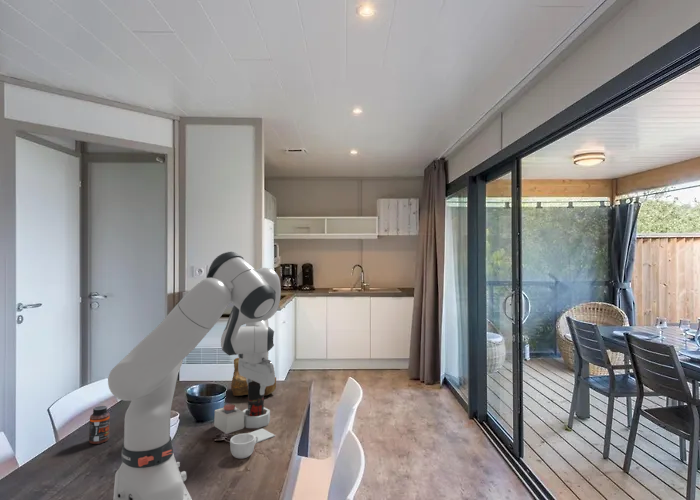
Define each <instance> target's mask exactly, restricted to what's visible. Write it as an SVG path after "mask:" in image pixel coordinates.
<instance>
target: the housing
mask: <svg viewBox="0 0 700 500" xmlns="http://www.w3.org/2000/svg"><path fill="white" fill-rule="evenodd" d="M224 411H225V410H224V407H221V408H218V409H214V422H213V423H214V427H215V428H217V430H220V431H221V432H223V433H224V434H225V435H226V434H227V435H228V434H230V433H234V432H236V431H239V430H240V431H241V430H243V429H245V428H246V429H261V428H263V427H266V426H268V425H269V424H270V421H271V409H268V408H267V407H265V406H264V415H261V416H248V408H245V409H243V410H241V409H239V408H238V407H236V406H235V409H234V412H233V413H229V414H226V413H224Z"/></svg>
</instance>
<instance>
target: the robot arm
mask: <svg viewBox="0 0 700 500" xmlns="http://www.w3.org/2000/svg"><path fill="white" fill-rule="evenodd" d="M206 274H207V275H206V277H205V278H203V279H202V280H201V281H200V282H198V283H196V285H194V286H193V287H192V288H191V289H190V290H189V291H188V292H186V293H185V295H184V296H183V297H182V298H181V299H180V301H179V302H178V303H177V304H176V305H175V306H174V307H173V308H172V309H171V311H169V313H168V314H167V315H166V316H165V317H164V318H163V320H162V321H161V322H160V323H159V324H158V325H157V326H156V327H155V328H154V329H153V330H152V331H151V332H150V333H149V334H148V335H146V336H145V337H144V338H143V339H142V340H141V341H140V342H138V344H137V345H136V346H134V348H133V349H132V350H130V352H128V354H126V355H125V357H124V358H123V359H121V360H120V361H119V362H118V363H117V364H115V366H114V367H113V368H112V369H111V370H110V371H109V374H108V377H107V385H108V388H109V391H110V393H111V394H112V395H113V397H115V398H117V399H118V400H121V401H126V402H129V401H130V403H129V406H128V408H127V410H126V411H125V414H124V428H123V429H124V431H123V433H124V434H123V438H124V439H123V444H122V447H121V452H120V454H121V461H122V462H121V464H120V466H119V468H118V469H117V470H116V472H115V475H114V487H113V499H112V500H193V499H192V496H191V494H190V493H189V491H188V489H187V487H186V485H185V481H186V480H187V477H188V476H187V471H185V470H183V471H180V465H181V464H180V463H181V462H180V461H176V458H175V454H174V449H173V448H174V445H173V441H172V437H171V417H172V416H171V414H172V413H171V412H172V404H173V399H174V395H175V392H176V385H177V382H178V381H177V379H178V375H179V371H180V370H181V368H182V365H183V363H184V361H183V360H184V359H185V358H186V357H187V356H188V355H189V354H190V353H192V352H193V350H194V349H196V347H197V346H198V345H199V343H200V342H201V341H202V340H203V339H204V338H205V337H206V335H208V333H209V332H210V331H211V330H212V328H213V327H215V325H216V324H217V323H218V321H219V320H220V318H221V317H222V315H223V314H224V313H225V311H226V310H227V308H228V307H229V305H230V304H232V305H233V307H231V310H230V314H229V317H228V320H227V323H226V324H225V327H224V330H223V332H222V334H221V339H220V347H221V349H222V352H224V353H225V354H226V355H227V356H237V358H239V362H238V370H239V374H240V375H241V376H243V377H245V378H246V381H247V384H248V383H249V382H252V380H253V381H255V382H257V383H260V386H261V387H260V390H258V392H259V393H258V394H260V395H264V393H265V388H266V386H271V385H274V383H275V377H276V373H275V367H274V366H273V365H274V364H273V362H272V360H270V359H269V352H270V350H272V349H273V347H274V346H275V344H274V335H275V331H274V330H273V329H272V328H271V327H270V326H269V319H271V318H272V317H273V316H274V315H276V313H277V311H278V309H279V306H280V302H281V294H282V293H281V292H282V291H281V290H282V288H281V280H280V279H281V278H280V277H279V275H278V273H277V272H276V271H275V270H273V269H271V268H269V267H261V268H257V269H255V267H254V266H252V264H250V263H249V262H247V261H246V260H245V259H244V257H243V256H242V255H240V254H238V253H236V252H234V251H227V252H223V253H221V254H219V255H218V256H216V258H214V260H212V263H211V264H210V266H209V268H208V272H207V273H206ZM264 396H265V395H264Z"/></svg>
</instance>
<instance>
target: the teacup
mask: <svg viewBox="0 0 700 500" xmlns="http://www.w3.org/2000/svg"><path fill="white" fill-rule="evenodd" d="M248 433H249V432H248ZM248 433H246V432H245V433H243V432H242V433H239V434H235V435H233V436H231V438H230V440H229V445H230V446H229V447H230V453H231V454H232V456H233V458H236V459H246V458H248V457H250V456H251V455H252V454H253V453H254V448H255V445H256V444H258V443H257V441H258V437H257V436H254V435H252V434H248ZM255 437H256V441H255Z"/></svg>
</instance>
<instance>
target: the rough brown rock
mask: <svg viewBox="0 0 700 500" xmlns="http://www.w3.org/2000/svg"><path fill="white" fill-rule="evenodd" d="M238 362H239V357H237V358H235V359H233V368H234V369H233V375H232V380H231V384H230V388H231V389H230V390H231V391H232V396H234V397H241V396H246V395H247V396H248V384H247V381H246V378H245V377H243V376H241V375H240V374H239V370H238ZM273 366H274V364H273ZM252 381H253V380H252ZM276 389H277V377H276V376H275V383H274V385H271V386H266V388H265V393H264V396H268V395H270V394H272V393H274V392H275V390H276Z"/></svg>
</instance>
